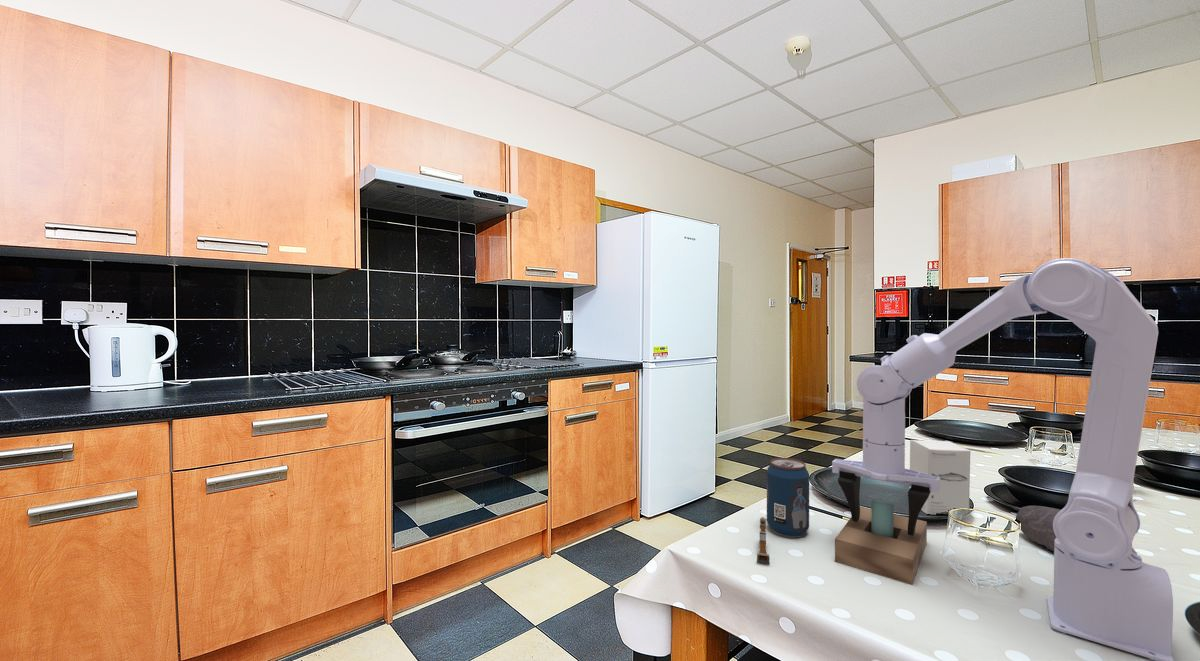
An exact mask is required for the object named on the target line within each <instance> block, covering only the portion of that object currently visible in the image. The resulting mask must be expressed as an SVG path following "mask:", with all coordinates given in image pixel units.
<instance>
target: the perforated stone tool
mask: <svg viewBox="0 0 1200 661" xmlns="http://www.w3.org/2000/svg"><path fill="white" fill-rule="evenodd" d="M1061 510H1062V509H1059V508H1055V507H1049V506H1042V505H1026V506H1022V507H1021V508H1020V509H1019V510H1018V512H1017V513H1016V516H1015V520H1016V519H1017V520H1019V521H1020V523H1021V529H1020V531H1021V532H1022V534H1024V535H1025V536H1026V537H1027V538H1028V539H1030V540H1031V541H1032V542H1034V543H1036V544H1038V545H1041V546H1044V547H1046V548H1047V550H1048V551H1051V552H1052V553H1054V545H1055V543H1054V540H1055V538H1056V536H1055V533H1054V530H1053V520H1054V518H1055V516H1056V515H1057V513H1058V512H1059V511H1061Z"/></svg>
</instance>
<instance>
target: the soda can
mask: <svg viewBox="0 0 1200 661" xmlns="http://www.w3.org/2000/svg"><path fill="white" fill-rule="evenodd" d="M766 524H767V526H768V527H769V528H770V530H771V531H772V532H773V533H774V534H776V535H778V536H781V537H785V538H796V539H797V538H801V537H803V536H804V535H806V533H807V531H808V530H809V528H810V473H809V471H808V469H807V467H806V463H805V462H804V461H802V460H799V459H796V458H791V457H775V458H772V459H771V460H770V464H769V466H768V467H767V469H766Z"/></svg>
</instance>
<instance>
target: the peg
mask: <svg viewBox="0 0 1200 661" xmlns="http://www.w3.org/2000/svg"><path fill="white" fill-rule="evenodd" d="M894 505H895V504H894V502H892V501H891V500H888V499H885V498H884V499H883V498H873V499H871V509H872V516H871V533H875V534H879V535H882V536H886V537H890V538H893V520H894V512H895V511H894V510H895V509H894V508H895V506H894Z"/></svg>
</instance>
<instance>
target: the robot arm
mask: <svg viewBox="0 0 1200 661" xmlns="http://www.w3.org/2000/svg"><path fill="white" fill-rule="evenodd" d="M1048 312H1050V313H1052V314H1054V315H1056V316H1059V317H1062V318H1064V319H1067V320H1069V321H1071V322H1072V323H1073V324H1074V325H1075V326H1077V327H1078V328H1079V329H1080V330H1082V331H1083V332H1084V333H1085V334H1086V335H1088V336H1089V337H1090V338H1092V340H1094V341H1095V349H1094V355H1093V361H1092V367H1091V374H1090V380H1089V386H1088V387H1089V388H1088V393H1087V400H1086V406H1085V412H1084V418H1083V423H1082V424H1083V425H1082V432H1081V437H1080V444H1079V445H1080V446H1079V450H1078V457H1077V463H1076V470H1075V473H1074V476H1073V480H1072V482H1071V486H1070V488H1069V489H1070V490H1069V493H1068V499H1067V503H1066V504H1065V506H1064V507H1063V508H1062V509H1060V510H1061V511H1059V512H1058V513H1057V515H1056V516H1055V518H1054V520H1053V530H1054V533H1055V536H1056V538H1055V540H1054V543H1055V545H1054V552H1053V556H1054V557H1053V595H1052V596H1048V595H1047V596H1046V604H1047V609H1048V615H1049V617H1048V618H1049V622H1050V627H1051V628H1052V629H1054V630H1055V631H1058V632H1061V633H1065V634H1068V635H1071V636H1074V637H1075V636H1076V637H1078V638H1082V639H1083V640H1088V641H1092V642H1095V643H1098V644H1102V645H1105V646H1109V647H1110V648H1115V649H1117V650H1121V651H1125V652H1128V653H1130V654H1134V655H1137V656H1141V657H1144V658H1148V659H1151V660H1155V661H1174V658H1173V623H1174V598H1173V597H1174V595H1173V588H1172V587H1173V586H1172V583H1171V579H1170V575H1169V574H1168V571H1167V570H1166V569H1164V568H1163V567H1162V568H1161V567H1159V566H1155V565H1153V564H1148V563H1146V562H1143V560H1142V559H1143V558H1142V557H1141V555H1138V552H1137V551H1136V550H1135V549H1134V547H1133V541H1134V538H1135V536H1136V535H1137V533H1138V532H1139V530H1140V528H1141V519H1140V515H1139V514H1138V511H1137V510H1136V508H1135V506H1134V503H1133V496H1134V495H1133V494H1134V489H1135V488H1134V481H1135V480H1134V479H1135V472H1136V466H1137V460H1138V455H1139V448H1140V443H1141V437H1142V430H1143V426H1144V420H1145V413H1146V407H1147V404H1148V403H1147V402H1148V396H1149V390H1150V385H1151V377H1152V374H1153V373H1152V372H1153V367H1154V361H1155V356H1156V349H1157V342H1158V337H1159V327H1158V324H1157V323H1156V321H1155V320H1154V319H1153V318H1152V316H1151V315H1150V314H1149V313H1148V312H1147V310H1146V309H1145V308H1144V307H1143V305H1142V304H1141V303H1140V302H1139V300H1138V299H1137V298H1136V297H1135V295H1134V294H1133V293H1132V292H1131V291H1130V289H1129V288H1128V286H1126V283H1125V282H1124V281H1123V280H1122V279H1121V278H1119V277H1118V276H1115V275H1114V274H1112V273H1110V272H1108V271H1106V270H1105V269H1103V268H1102V267H1099V266H1098V265H1095V264H1092V263H1090V262H1087V261H1085V260H1081V259H1078V258H1070V257H1061V258H1056V259H1052V260H1049V261H1047V262H1044V263H1043V264H1041V265H1039V266H1038V267H1037V268H1036V269H1035V270H1034V271H1033V272H1032V273H1031V274H1028V273H1026V274H1024V275H1022V276H1020V277H1017V278H1016V279H1014V280H1012V281H1011V282H1010V283H1008V284H1007V285H1005V286H1004V287H1003V288H1001V289H999V290H997V291H996V292H995V293H993V294H992V295H991V296H989V297H987V299H985V300H984V301H983V302H981V303H980V304H979V305H977V306H976V307H974V308H973V309H971V310H970V311H969V312H967V313H965V315H963V316H962V317H960V318H958V320H956V321H954V322H953V323H952V324H950V325H949V326H948V327H947V328H945V329H943V331H942V330H941V332H940V333H939V334H935V333H927V332H925V333H924V332H923V333H922V334H920V335H917V334H912V335H911V336H909V337H908V338H907V339H906V343H907V344H905V345H903V347H901V348H900V349H898V350H896V351H895V352H894V353H892V354H891V355H888V354H887V355H884V356H883V357H881V358H880V362H881V363H880V364H881V365H877V364H873V365H869V366H865V367H864V369H863V371H861V372H860V374H859V375H858V376H857V378H856V379H857V380H856V388H857V391H858V393H859V395H860V396H861V397H862V399H863V401H862V402H863V403H862V404H863V406H862V407H863V409H862V461H859V460H847V459H840V458H835V459H834V460H832V462H831V466H832V467H831V473H832V474H837V475H838V477H837V482H838V485H839V487H840V488H841V490H842V492H843V493H844V494H843V495H844V497H845V499H846V501H847V504H848V508H849V511H850V515H851V516H850V517H852V521H854V522H857V521H858V520H859V518H860V507H861V503H860V494H861V492H860V491H861V490H860V487H861V479H862V478H866V479H871V480H875V481H881V482H887V483H892V484H897V485H901V486H908V487H909V486H911V488H910V489H909V490H908V491H907V500H908V502H907V503H908V518H909V520H908V535H912V536H913V535H914V533H915V527H916V522H917V520H918V519H919V515H920V512H921V511H922V510H921V509H922V507H923V505H924V504H925V502H926V500H927V499H928V497H929V495H930V492H936V493H938V492H939V490H940V477H939V476H933V475H929V474H924V473H921V472H917V471H913V470H910V468H909V469H908V468H906V467H905V466H906V462H905V461H906V459H905V458H906V411H905V410H906V398H908V396H909V395H910V394H911V392H912V389H915V388H917V387H919V386H921V385H923V383H926V382H927V381H929V380H931V379H932V378H934V377H936V376H937V375H939V374H941V373H942V372H943V371H946V370H947V369H949V368H951V367H952V366H953V365H954V364H955V361H956V354H957V351H959V350H961V349H963V348H964V347H966V346H968V345H970V344H972V343H973V342H975V341H977V340H978V339H981V338H982V337H984V336H985V335H987V334H988V333H990V332H992V331H994V330H996V329H997V328H999V327H1001V326H1002V325H1004V324H1006V323H1007V322H1009V321H1011V320H1013V319H1016V318H1020V317H1021V318H1022V317H1028V316H1034V315H1040V314H1047V313H1048Z"/></svg>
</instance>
